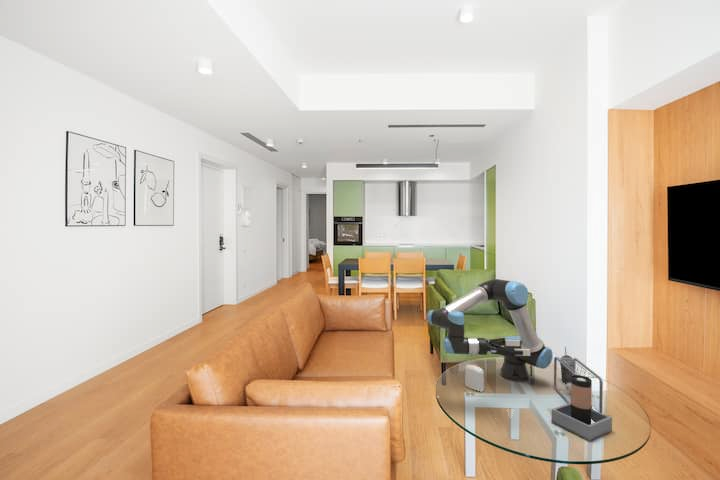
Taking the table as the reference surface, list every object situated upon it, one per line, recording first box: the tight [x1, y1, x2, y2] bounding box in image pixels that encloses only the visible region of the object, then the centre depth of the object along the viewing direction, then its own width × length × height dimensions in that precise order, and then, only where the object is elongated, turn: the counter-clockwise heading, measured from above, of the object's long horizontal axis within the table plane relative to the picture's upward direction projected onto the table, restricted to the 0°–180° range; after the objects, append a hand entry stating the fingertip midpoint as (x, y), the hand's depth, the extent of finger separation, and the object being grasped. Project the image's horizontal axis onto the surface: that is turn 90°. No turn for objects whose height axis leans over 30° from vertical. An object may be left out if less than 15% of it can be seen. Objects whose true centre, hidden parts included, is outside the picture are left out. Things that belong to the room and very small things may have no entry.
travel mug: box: [570, 374, 593, 425], centre depth 150 cm, size 8×8×20 cm
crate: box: [550, 402, 613, 443], centre depth 150 cm, size 16×16×6 cm
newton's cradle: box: [553, 356, 604, 414], centre depth 174 cm, size 30×10×18 cm, turn 170°
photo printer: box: [464, 364, 485, 393], centre depth 188 cm, size 10×4×12 cm, turn 38°
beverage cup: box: [559, 346, 574, 385], centre depth 196 cm, size 7×7×20 cm
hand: (524, 347), depth 162 cm, fingers open, 13 cm apart
